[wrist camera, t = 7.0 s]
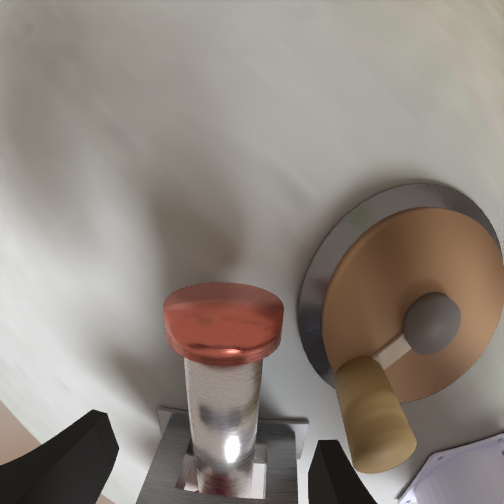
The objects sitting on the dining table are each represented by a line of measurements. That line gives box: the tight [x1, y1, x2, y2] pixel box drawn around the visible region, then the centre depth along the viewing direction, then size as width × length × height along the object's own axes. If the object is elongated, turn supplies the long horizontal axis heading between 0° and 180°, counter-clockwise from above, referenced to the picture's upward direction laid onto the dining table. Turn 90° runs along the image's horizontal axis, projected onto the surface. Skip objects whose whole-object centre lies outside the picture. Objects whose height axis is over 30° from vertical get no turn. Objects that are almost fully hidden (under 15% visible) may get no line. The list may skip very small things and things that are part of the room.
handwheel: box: [321, 207, 504, 474], centre depth 10 cm, size 10×10×6 cm
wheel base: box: [299, 184, 503, 388], centre depth 14 cm, size 12×12×1 cm
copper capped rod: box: [164, 283, 284, 498], centre depth 12 cm, size 4×13×4 cm, turn 177°
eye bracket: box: [136, 406, 309, 504], centre depth 13 cm, size 9×10×7 cm
